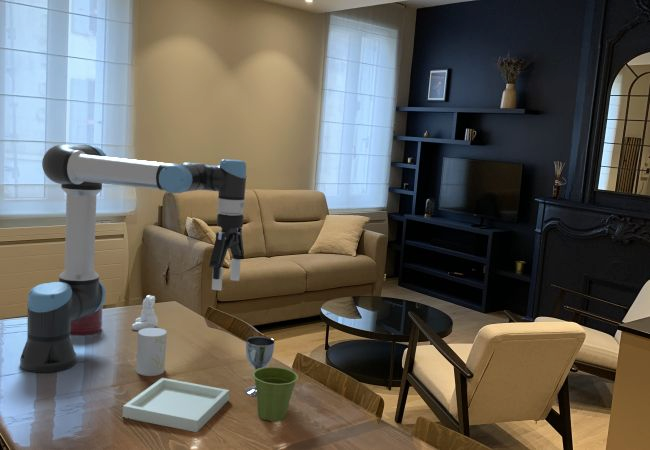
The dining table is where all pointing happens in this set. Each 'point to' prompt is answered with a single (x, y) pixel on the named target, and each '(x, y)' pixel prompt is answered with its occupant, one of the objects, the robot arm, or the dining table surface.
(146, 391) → the tray
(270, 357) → the wine glass
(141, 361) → the white round cylinder
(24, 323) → the dining table surface
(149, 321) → the sitting furry creature
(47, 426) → the dining table surface
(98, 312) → the canister
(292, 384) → the plant pot
